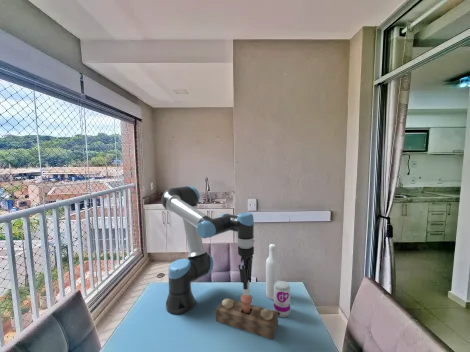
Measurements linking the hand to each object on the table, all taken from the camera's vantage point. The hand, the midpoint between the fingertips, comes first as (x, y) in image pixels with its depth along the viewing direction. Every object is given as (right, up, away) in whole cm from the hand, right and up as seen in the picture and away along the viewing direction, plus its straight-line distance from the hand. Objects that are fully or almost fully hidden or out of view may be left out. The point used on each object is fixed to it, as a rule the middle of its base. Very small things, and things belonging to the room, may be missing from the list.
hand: (246, 294), depth 104 cm
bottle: (+16, -13, +22) cm, 30 cm away
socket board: (0, -14, +1) cm, 14 cm away
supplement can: (+19, -14, +8) cm, 24 cm away
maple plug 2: (+9, -13, -3) cm, 16 cm away
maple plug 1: (-9, -13, +5) cm, 16 cm away
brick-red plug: (0, -8, +1) cm, 8 cm away
